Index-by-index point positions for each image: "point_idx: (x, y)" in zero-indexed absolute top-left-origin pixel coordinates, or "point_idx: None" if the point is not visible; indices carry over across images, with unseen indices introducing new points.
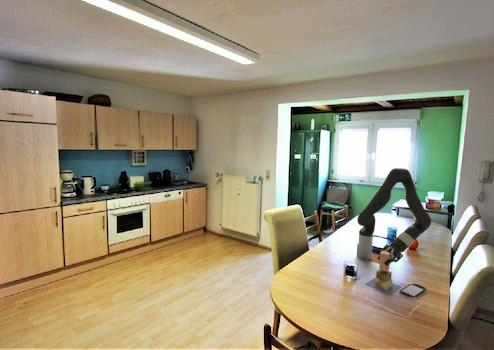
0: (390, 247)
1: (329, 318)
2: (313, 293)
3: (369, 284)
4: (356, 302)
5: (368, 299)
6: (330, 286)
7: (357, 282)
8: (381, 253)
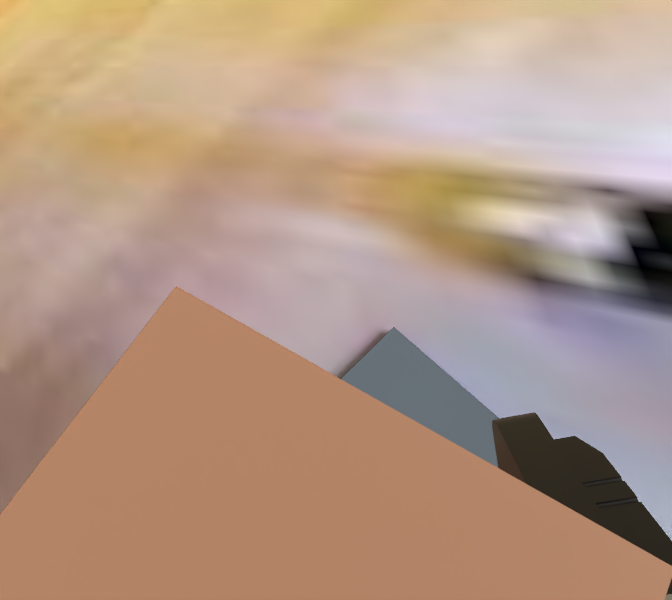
0: None
1: (18, 72)
2: (249, 4)
3: (400, 382)
4: (130, 212)
5: (158, 304)
6: (347, 80)
7: (460, 284)
8: (145, 346)
